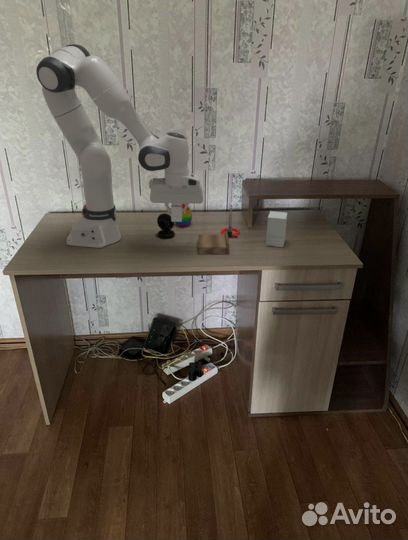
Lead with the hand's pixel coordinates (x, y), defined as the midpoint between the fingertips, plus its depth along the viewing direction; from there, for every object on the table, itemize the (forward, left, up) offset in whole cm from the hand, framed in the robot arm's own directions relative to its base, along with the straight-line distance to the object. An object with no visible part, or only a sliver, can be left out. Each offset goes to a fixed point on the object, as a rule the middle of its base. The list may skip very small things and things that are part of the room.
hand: (176, 213), depth 158 cm
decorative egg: (+1, +24, -15) cm, 28 cm away
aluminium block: (0, 0, -2) cm, 2 cm away
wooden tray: (+14, 0, -15) cm, 21 cm away
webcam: (-6, +12, -15) cm, 20 cm away
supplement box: (+40, +4, -15) cm, 43 cm away
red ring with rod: (+22, +14, -15) cm, 30 cm away
